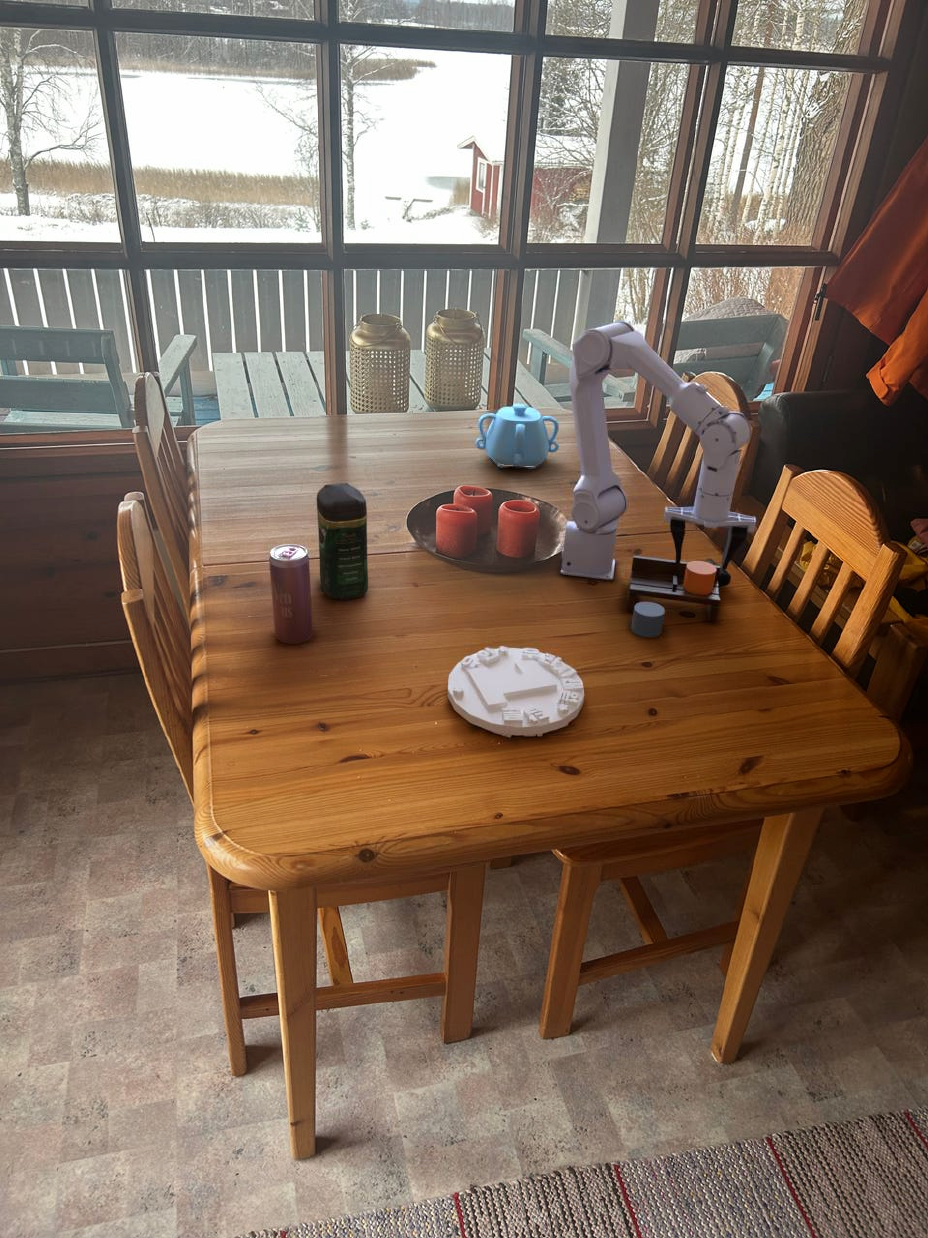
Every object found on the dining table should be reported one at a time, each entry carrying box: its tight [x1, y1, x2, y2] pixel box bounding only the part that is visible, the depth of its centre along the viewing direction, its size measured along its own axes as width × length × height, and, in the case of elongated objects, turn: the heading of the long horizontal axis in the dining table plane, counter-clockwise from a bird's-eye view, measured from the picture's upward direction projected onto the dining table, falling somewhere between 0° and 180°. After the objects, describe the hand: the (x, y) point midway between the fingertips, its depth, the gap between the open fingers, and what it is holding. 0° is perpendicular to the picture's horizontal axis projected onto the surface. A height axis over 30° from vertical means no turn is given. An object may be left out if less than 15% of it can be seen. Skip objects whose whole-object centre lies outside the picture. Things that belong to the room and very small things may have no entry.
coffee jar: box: [316, 482, 369, 601], centre depth 156 cm, size 10×8×19 cm
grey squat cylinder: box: [630, 601, 666, 638], centre depth 151 cm, size 5×5×4 cm
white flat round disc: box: [447, 645, 585, 739], centre depth 134 cm, size 20×20×3 cm
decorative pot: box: [475, 403, 560, 470], centre depth 213 cm, size 16×16×14 cm
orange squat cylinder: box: [683, 560, 717, 595], centre depth 156 cm, size 5×5×4 cm
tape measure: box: [693, 558, 732, 589], centre depth 166 cm, size 7×7×4 cm
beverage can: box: [268, 543, 314, 645], centre depth 143 cm, size 6×6×15 cm
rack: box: [626, 555, 721, 624], centre depth 158 cm, size 15×9×6 cm, turn 79°
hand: (700, 563), depth 155 cm, fingers open, 7 cm apart
